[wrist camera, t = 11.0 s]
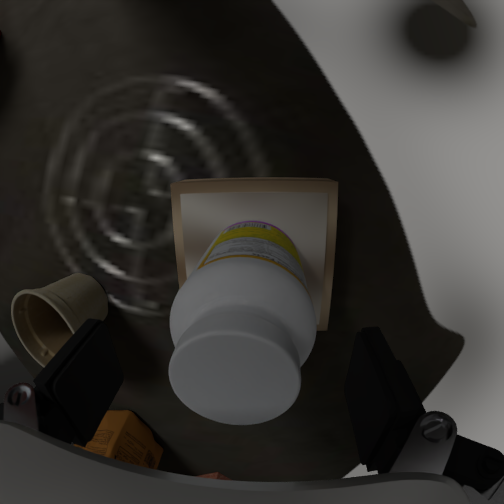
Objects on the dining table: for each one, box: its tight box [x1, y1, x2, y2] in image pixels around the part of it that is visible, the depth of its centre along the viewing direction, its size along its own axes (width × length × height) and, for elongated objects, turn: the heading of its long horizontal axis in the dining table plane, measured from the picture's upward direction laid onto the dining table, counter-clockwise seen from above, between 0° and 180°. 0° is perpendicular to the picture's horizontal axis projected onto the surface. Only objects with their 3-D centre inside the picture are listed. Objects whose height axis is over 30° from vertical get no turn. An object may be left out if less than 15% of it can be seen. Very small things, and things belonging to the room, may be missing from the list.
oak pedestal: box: [171, 177, 338, 331], centre depth 24 cm, size 12×12×4 cm
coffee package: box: [74, 410, 163, 470], centre depth 26 cm, size 10×12×22 cm
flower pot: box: [11, 273, 108, 367], centre depth 25 cm, size 9×9×9 cm
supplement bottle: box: [169, 220, 317, 425], centre depth 15 cm, size 7×7×13 cm
